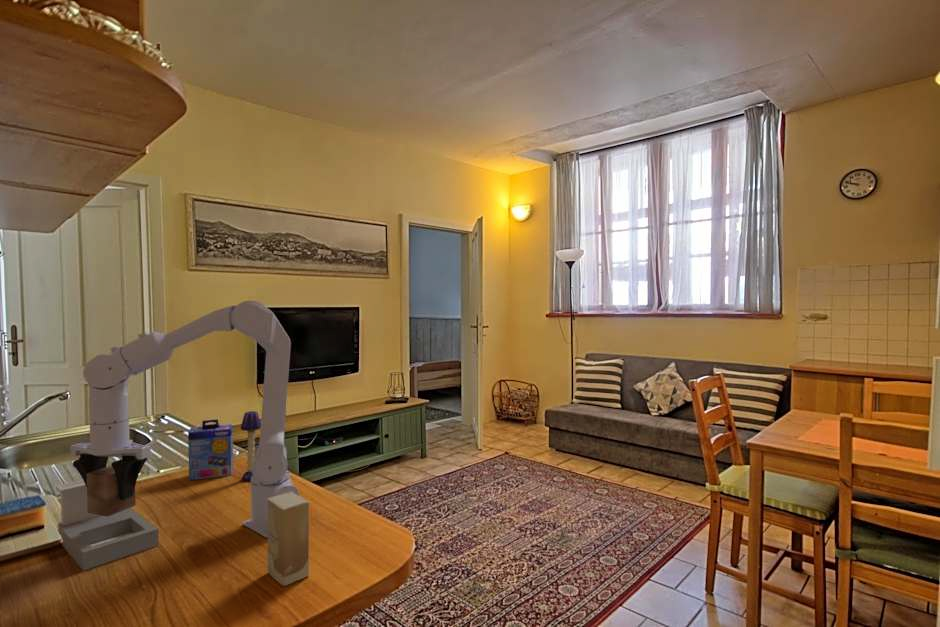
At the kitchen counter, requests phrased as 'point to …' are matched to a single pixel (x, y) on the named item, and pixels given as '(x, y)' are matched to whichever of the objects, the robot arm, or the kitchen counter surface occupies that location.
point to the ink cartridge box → (210, 450)
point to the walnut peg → (105, 493)
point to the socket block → (100, 530)
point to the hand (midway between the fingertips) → (111, 496)
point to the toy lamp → (250, 439)
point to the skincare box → (288, 538)
